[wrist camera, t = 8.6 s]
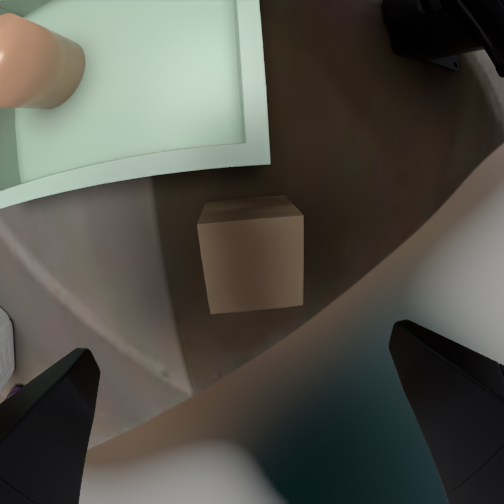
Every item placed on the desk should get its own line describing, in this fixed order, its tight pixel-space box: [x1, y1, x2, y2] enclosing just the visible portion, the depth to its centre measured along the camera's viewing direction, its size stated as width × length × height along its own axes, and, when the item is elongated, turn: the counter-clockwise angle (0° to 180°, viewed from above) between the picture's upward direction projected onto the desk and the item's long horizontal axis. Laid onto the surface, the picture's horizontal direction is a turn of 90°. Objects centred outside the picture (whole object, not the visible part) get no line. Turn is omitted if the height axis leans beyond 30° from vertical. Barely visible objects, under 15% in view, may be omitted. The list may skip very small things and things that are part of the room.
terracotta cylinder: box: [0, 13, 85, 109], centre depth 9 cm, size 5×5×7 cm
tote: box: [0, 0, 270, 208], centre depth 11 cm, size 18×16×5 cm
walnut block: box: [197, 195, 304, 314], centre depth 17 cm, size 5×5×5 cm
